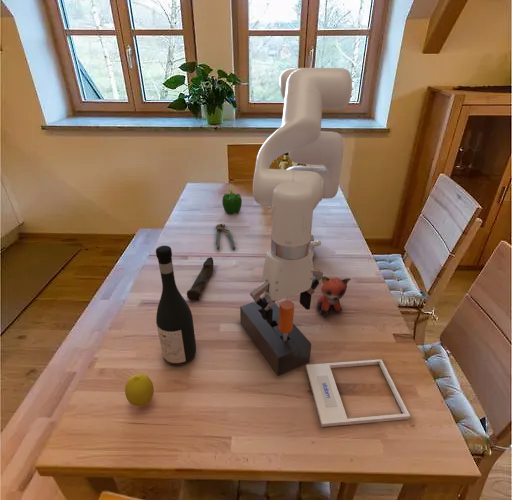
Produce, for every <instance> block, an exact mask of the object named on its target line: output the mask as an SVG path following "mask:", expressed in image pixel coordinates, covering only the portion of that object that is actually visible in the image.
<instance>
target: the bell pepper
mask: <svg viewBox="0 0 512 500" xmlns="http://www.w3.org/2000/svg"><path fill="white" fill-rule="evenodd" d="M228 191H229V193H225V194H223V196H222V200H221V201H222V203H221V204H222V206H223V209H224V212H225V213H226V214H228V215H229V216H230V215H235V214H239V213H240V211H241V209H242V205H243V201H242V200H243V198H242V197H241V194H240V193H237V194H236V193H235V192H233V189H231V188H230V189H228Z"/></svg>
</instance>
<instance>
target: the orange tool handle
mask: <svg viewBox="0 0 512 500" xmlns="http://www.w3.org/2000/svg"><path fill="white" fill-rule="evenodd" d="M294 315H295V303H294V302H293V301H291V300H289V299H283V300H282V301H280V303H279V330H280V331H281V332H282V333H283V342H285V341H287V334H288V333H290V332H291V331H292V330H293V324H294Z"/></svg>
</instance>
